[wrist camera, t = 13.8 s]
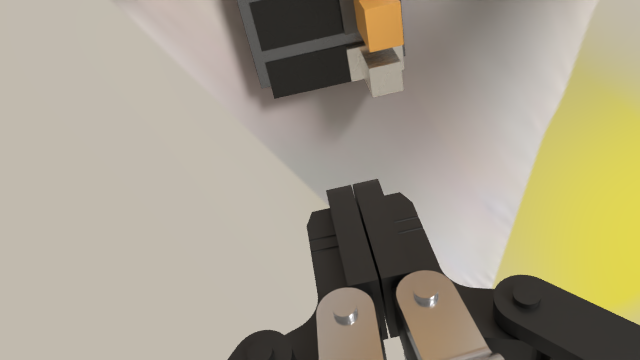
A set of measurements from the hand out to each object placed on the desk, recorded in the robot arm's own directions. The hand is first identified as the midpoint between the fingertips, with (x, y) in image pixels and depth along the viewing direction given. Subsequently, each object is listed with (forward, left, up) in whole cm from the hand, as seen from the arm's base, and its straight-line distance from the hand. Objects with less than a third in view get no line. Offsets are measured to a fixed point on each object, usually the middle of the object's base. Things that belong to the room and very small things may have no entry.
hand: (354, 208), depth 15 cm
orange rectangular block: (-5, +4, -27) cm, 28 cm away
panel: (-2, +4, -29) cm, 29 cm away
